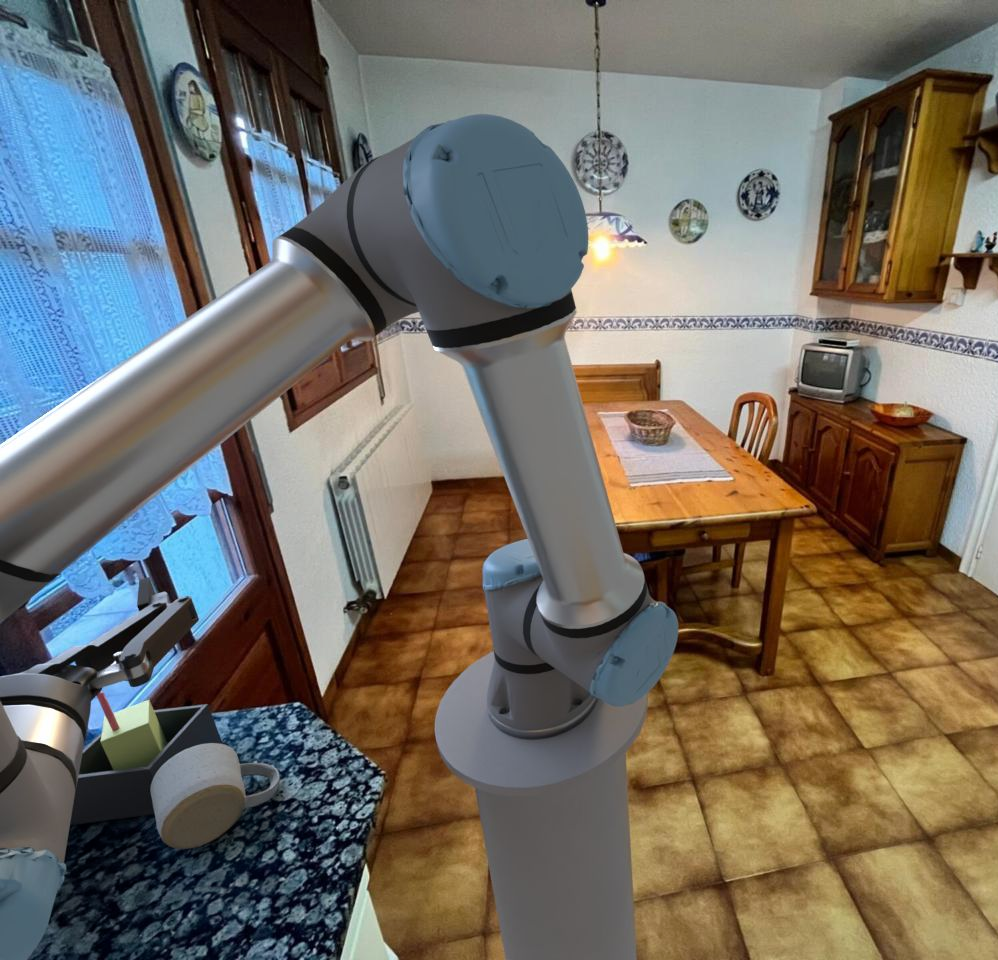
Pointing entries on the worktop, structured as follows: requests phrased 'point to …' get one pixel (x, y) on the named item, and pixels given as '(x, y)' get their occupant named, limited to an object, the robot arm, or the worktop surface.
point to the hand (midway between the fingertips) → (49, 617)
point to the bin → (130, 788)
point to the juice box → (131, 735)
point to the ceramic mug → (204, 794)
